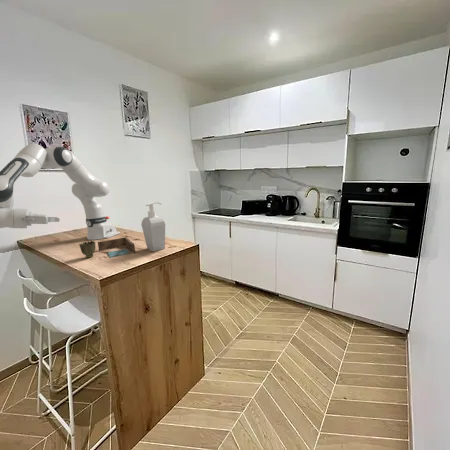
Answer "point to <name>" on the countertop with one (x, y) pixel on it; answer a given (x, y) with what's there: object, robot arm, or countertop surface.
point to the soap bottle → (154, 229)
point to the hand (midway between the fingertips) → (58, 219)
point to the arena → (115, 244)
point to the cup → (88, 248)
